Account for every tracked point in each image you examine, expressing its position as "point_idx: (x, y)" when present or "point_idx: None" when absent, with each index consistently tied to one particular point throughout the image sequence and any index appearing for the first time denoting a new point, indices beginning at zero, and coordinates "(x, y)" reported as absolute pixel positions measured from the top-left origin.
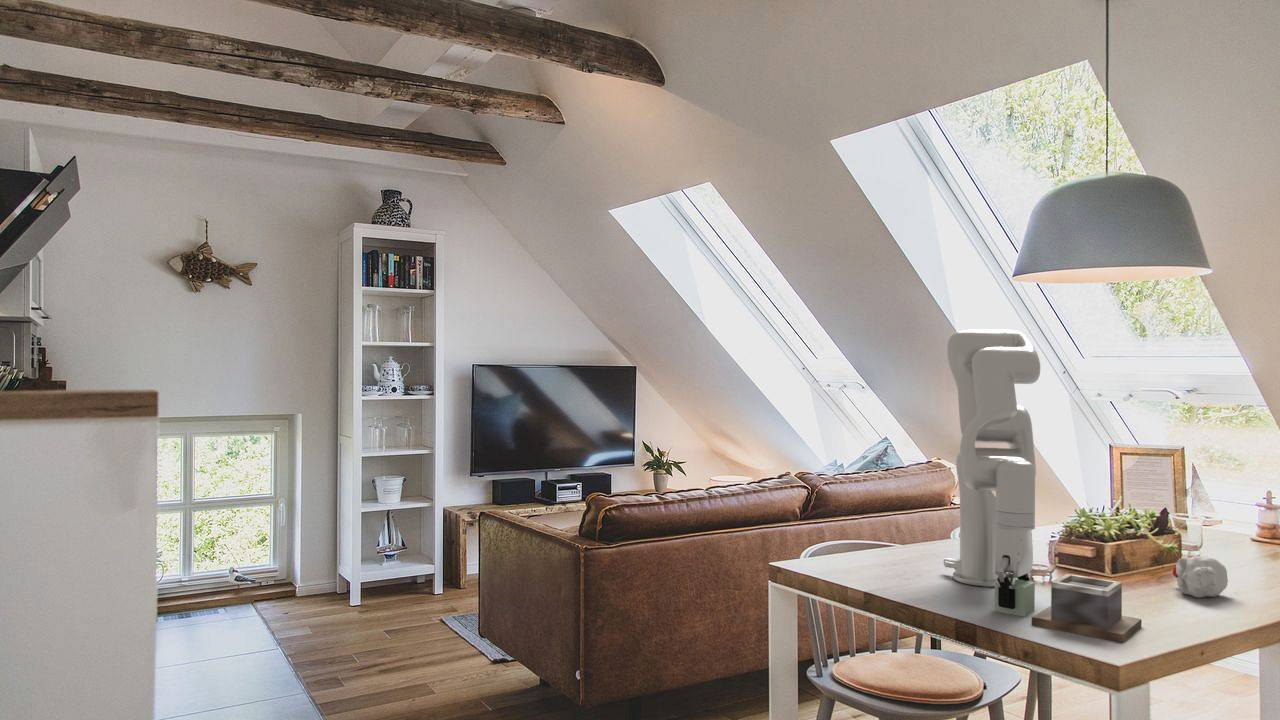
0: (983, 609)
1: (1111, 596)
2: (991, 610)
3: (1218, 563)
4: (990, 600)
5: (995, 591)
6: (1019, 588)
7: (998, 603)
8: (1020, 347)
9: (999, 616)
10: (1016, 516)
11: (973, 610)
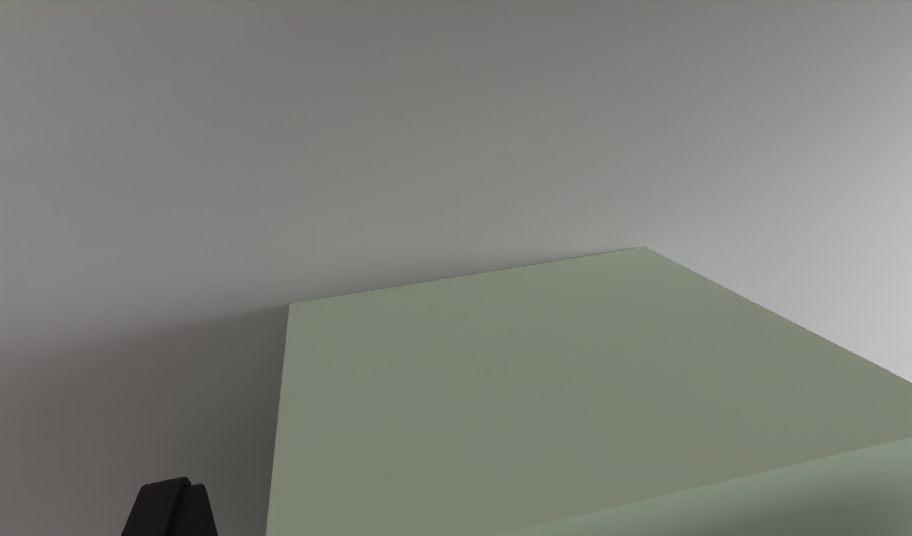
0: (220, 178)
1: None
2: (270, 271)
3: None
4: (745, 5)
5: (276, 458)
6: None
7: (134, 504)
8: None
9: (84, 475)
10: None
11: (22, 111)
